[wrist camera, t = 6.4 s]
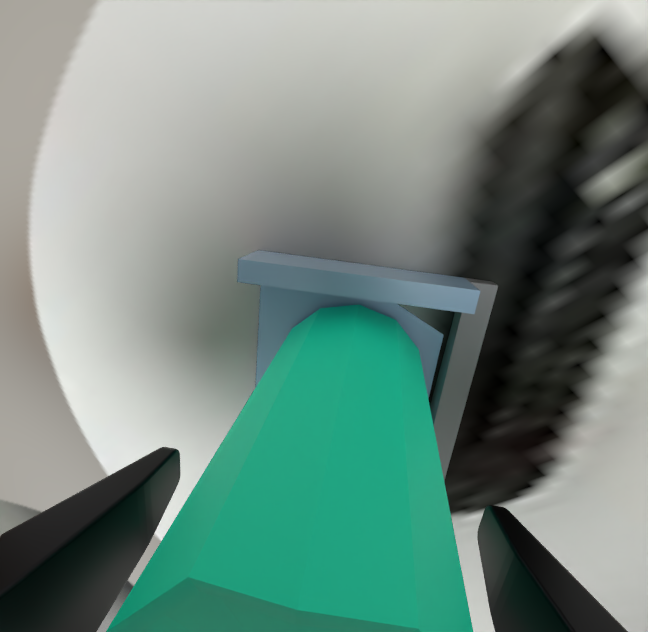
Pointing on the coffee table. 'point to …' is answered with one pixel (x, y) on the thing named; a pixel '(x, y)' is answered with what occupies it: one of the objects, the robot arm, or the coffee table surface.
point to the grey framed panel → (383, 297)
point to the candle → (316, 501)
